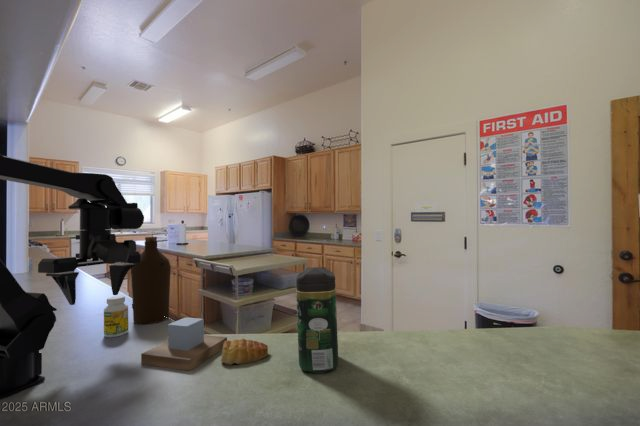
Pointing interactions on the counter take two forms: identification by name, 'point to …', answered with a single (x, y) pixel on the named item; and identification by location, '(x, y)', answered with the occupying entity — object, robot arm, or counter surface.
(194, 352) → the base slab
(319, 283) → the coffee jar
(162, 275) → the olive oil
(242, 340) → the pastry
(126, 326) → the supplement bottle
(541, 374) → the counter surface
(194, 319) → the block
